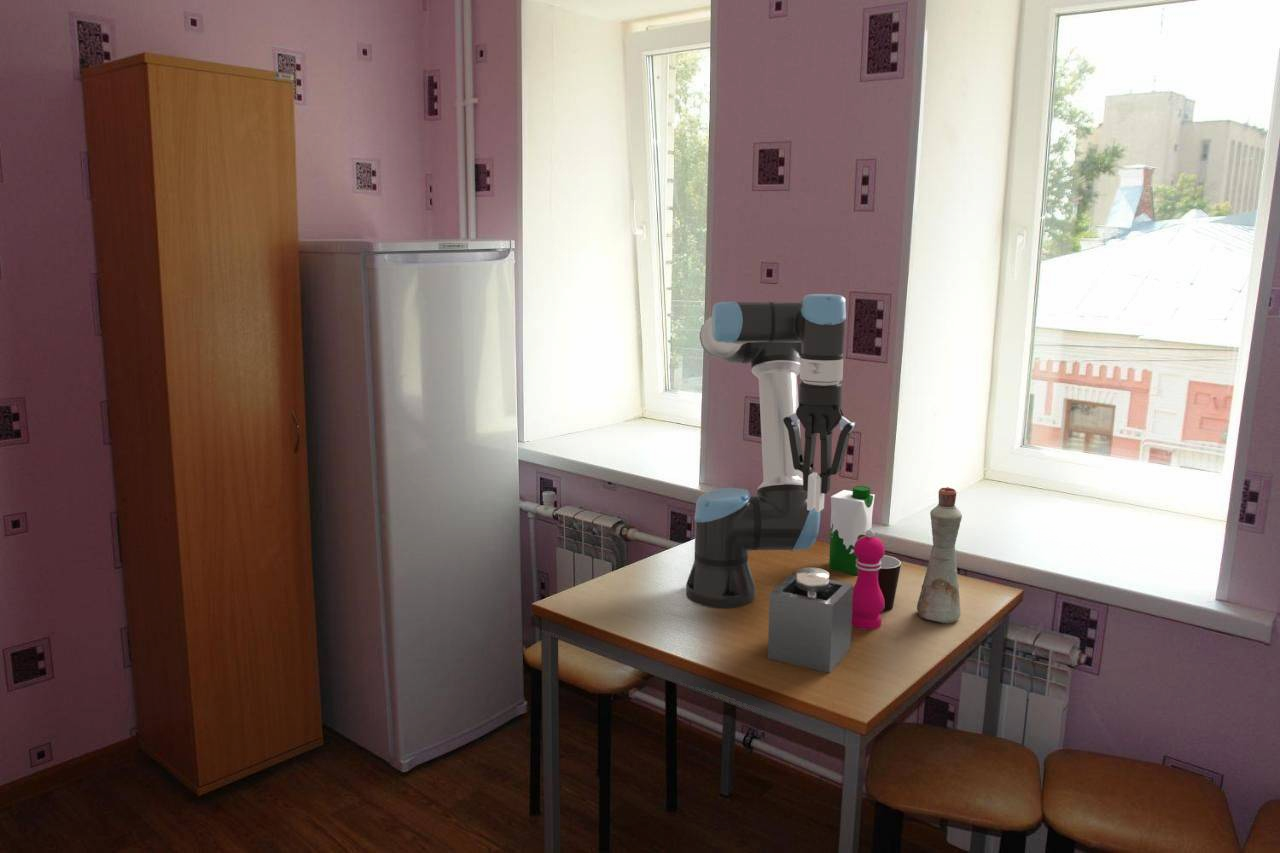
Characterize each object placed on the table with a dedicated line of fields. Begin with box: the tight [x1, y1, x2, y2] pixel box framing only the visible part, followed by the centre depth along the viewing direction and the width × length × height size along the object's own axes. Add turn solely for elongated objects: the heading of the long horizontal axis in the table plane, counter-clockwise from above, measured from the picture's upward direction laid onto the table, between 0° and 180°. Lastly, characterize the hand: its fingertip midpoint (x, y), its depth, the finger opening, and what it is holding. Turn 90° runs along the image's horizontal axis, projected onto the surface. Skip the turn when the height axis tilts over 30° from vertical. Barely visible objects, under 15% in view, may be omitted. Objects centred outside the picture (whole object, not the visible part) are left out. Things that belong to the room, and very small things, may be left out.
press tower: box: [767, 572, 855, 674], centre depth 177 cm, size 12×12×13 cm
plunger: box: [795, 567, 830, 598], centre depth 177 cm, size 8×8×15 cm
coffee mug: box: [878, 554, 902, 613], centre depth 202 cm, size 12×9×10 cm
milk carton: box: [828, 485, 876, 576], centre depth 222 cm, size 9×9×20 cm
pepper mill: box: [851, 528, 886, 631], centre depth 190 cm, size 7×7×20 cm
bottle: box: [916, 486, 963, 625], centre depth 193 cm, size 9×9×28 cm
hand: (815, 508), depth 173 cm, fingers closed
